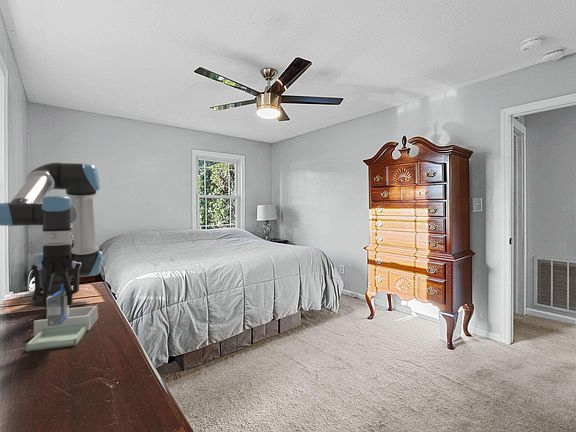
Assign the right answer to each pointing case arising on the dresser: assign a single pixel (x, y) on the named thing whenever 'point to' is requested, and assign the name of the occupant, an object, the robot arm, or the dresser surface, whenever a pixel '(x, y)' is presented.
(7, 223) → the robot arm
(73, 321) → the bay
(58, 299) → the blue cardboard package
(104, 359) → the dresser surface
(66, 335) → the tray
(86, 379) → the dresser surface
